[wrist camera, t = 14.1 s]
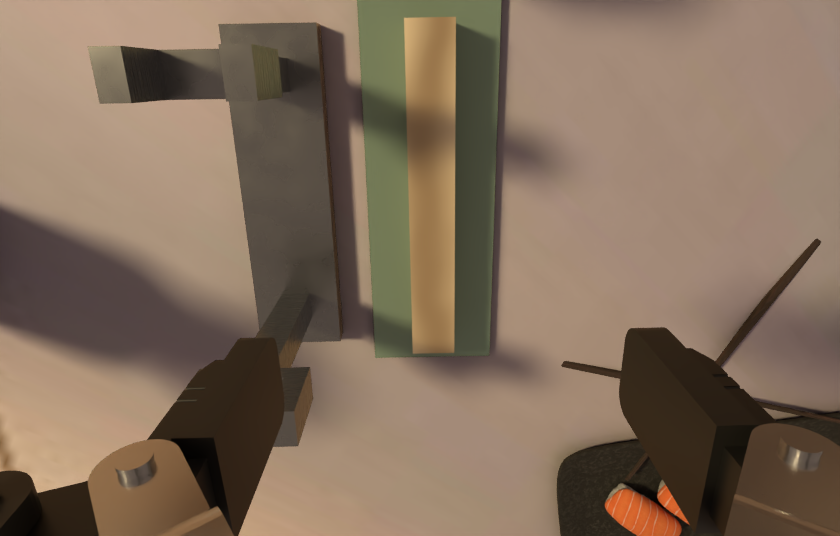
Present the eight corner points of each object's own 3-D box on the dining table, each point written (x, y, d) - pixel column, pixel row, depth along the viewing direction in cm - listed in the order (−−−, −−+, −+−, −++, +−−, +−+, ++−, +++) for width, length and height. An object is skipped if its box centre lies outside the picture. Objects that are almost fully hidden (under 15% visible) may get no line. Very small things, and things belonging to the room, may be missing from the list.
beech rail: (452, 21, 33) (455, 16, 30) (451, 333, 41) (454, 352, 38) (404, 22, 33) (404, 17, 30) (412, 334, 41) (412, 353, 38)
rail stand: (320, 24, 34) (243, -18, 18) (343, 332, 41) (301, 479, 26) (226, 26, 34) (74, -15, 18) (266, 333, 41) (181, 481, 26)
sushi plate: (559, 561, 51) (570, 598, 47) (532, 277, 40) (544, 297, 37) (866, 522, 49) (902, 557, 46) (920, 217, 39) (971, 232, 35)
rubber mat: (500, -13, 33) (501, -15, 32) (488, 351, 42) (489, 355, 41) (357, -11, 33) (356, -13, 32) (375, 353, 42) (375, 357, 41)
